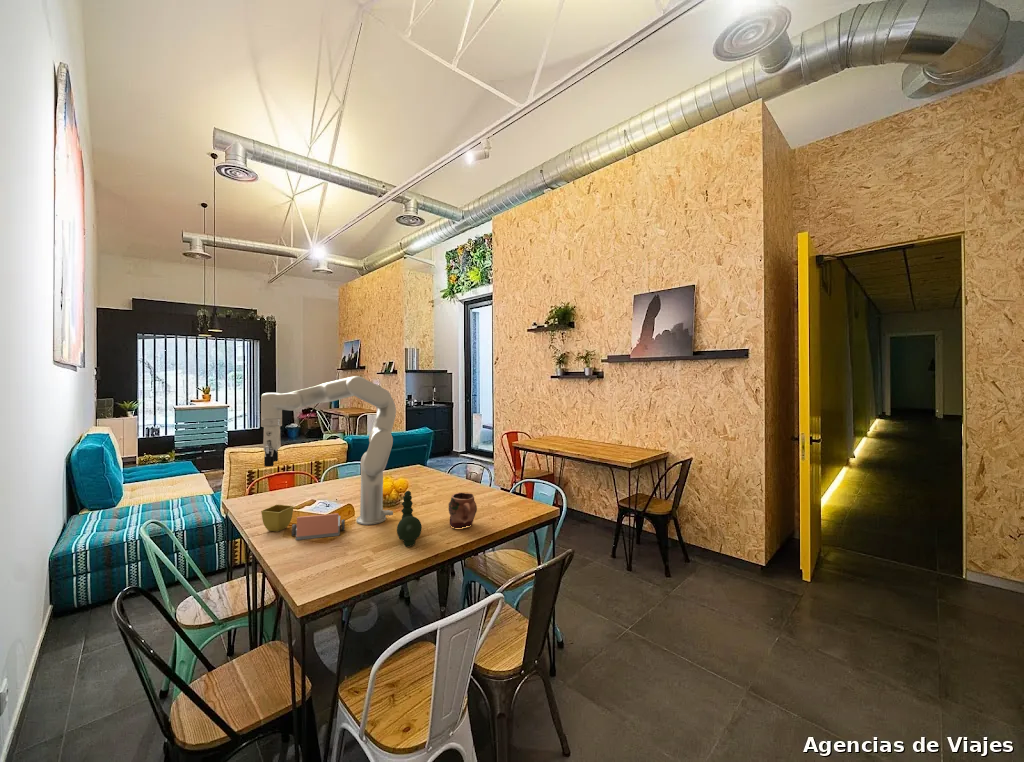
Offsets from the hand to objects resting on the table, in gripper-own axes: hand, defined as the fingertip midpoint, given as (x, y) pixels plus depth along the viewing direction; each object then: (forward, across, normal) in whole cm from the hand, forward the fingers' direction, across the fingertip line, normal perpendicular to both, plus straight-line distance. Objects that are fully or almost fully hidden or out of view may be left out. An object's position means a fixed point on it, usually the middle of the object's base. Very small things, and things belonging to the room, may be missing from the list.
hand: (271, 463), depth 175 cm
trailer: (+28, -5, -19) cm, 34 cm away
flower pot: (+28, +2, -2) cm, 29 cm away
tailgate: (+27, -14, -19) cm, 35 cm away
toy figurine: (+29, -25, -53) cm, 65 cm away
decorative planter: (+29, -18, -77) cm, 84 cm away
